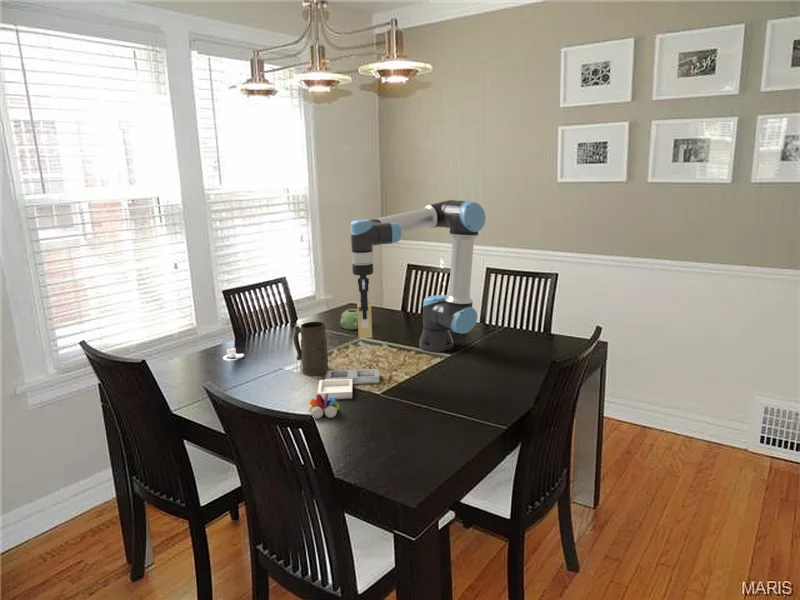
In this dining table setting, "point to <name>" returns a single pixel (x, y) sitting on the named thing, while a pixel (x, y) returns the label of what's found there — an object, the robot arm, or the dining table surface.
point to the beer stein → (312, 347)
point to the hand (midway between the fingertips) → (364, 324)
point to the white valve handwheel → (233, 354)
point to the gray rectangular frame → (355, 375)
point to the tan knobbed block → (361, 331)
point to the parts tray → (336, 388)
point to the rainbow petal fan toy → (323, 406)
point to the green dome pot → (349, 319)
